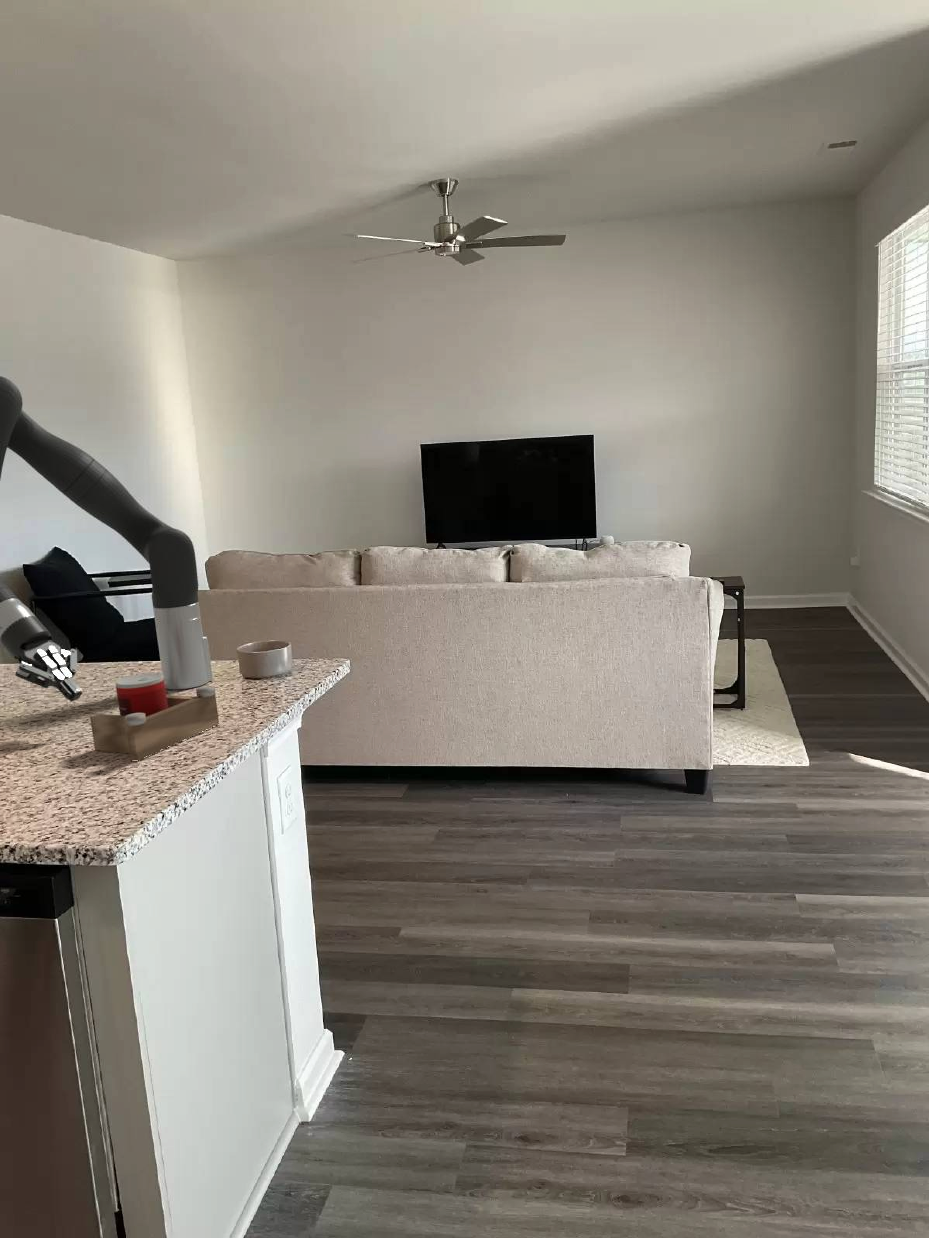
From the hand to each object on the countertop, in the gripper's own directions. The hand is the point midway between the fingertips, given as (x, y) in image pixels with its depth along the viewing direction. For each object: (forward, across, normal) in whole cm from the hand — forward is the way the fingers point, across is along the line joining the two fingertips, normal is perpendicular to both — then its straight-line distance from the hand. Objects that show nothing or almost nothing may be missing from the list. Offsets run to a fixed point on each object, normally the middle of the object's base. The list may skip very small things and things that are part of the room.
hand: (77, 697), depth 177 cm
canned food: (+16, 0, -6) cm, 17 cm away
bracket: (+16, 0, -7) cm, 18 cm away
